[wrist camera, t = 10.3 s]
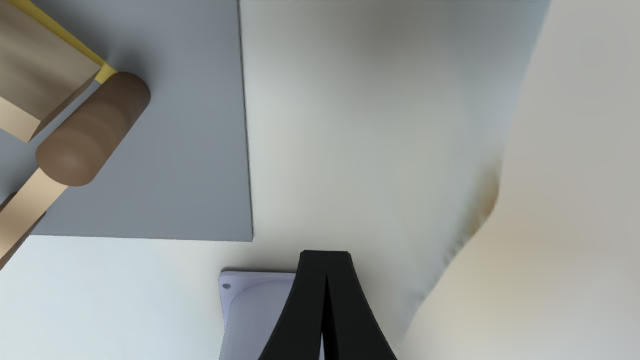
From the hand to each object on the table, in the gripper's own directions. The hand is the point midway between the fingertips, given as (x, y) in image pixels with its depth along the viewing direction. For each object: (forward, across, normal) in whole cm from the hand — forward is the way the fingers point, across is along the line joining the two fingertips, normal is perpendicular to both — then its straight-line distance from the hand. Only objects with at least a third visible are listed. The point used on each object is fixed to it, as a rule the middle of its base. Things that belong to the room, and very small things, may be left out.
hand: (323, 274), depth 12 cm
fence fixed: (+10, +13, +3) cm, 16 cm away
